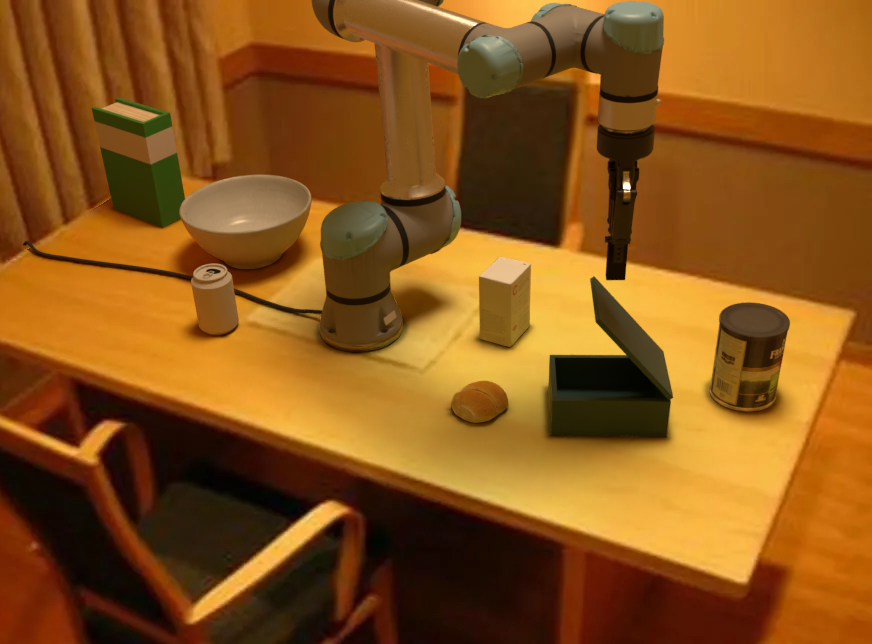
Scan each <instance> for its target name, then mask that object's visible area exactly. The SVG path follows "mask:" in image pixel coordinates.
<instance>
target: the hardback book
mask: <svg viewBox="0 0 872 644" xmlns="http://www.w3.org/2000/svg"><path fill="white" fill-rule="evenodd" d="M114 101H115V102H113V103H112V104H109V105H107V106H105V107H102V108H101V107H99V106H98V107H97V106H93V107H91V112H92V116H93V122H94V126H95V131H96V136H97V140H98V144H99V149H100V154H101V159H102V162H103V163H102V164H103V168H104V170H105V171H104V172H105V178H106V181H107V186H108V190H109V195H110V200H111V204H112V209H113V210H116V211H118V212H122V213H124V214H126V215H129V216H131V217H135V218H137V219H139V220H142V221H144V222H147V223H149V224H152V225H155V226H156V227H160V228H161V229H164V228H166V227H167V226H169V225H172V224H174V223H175V222H178V221H180V220H181V217H180V213H179V210H180V206H181V204H182V202H183V201H184V200H185V198H186V197H185V189H184V184H183V179H182V174H181V168H180V161H179V156H178V151H177V150H178V149H177V145H176V140H175V138H176V137H175V134H174V127H173V122H172V116H171V112H169V111H165V110H162V109H159V108H156V107H152V106H149V105H145V104H142V103H139V102H136V101H132V100H128V99H126V98H122V97H119V96H118V97H115V98H114Z"/></svg>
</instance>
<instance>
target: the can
mask: <svg viewBox="0 0 872 644" xmlns="http://www.w3.org/2000/svg"><path fill="white" fill-rule="evenodd" d="M192 276H193V278H192V279H190V284H191V290H192V296H193V301H194V302H193V303H194V307H195V312H196V318H197V323H198V327H199V329H200V330H201V331H203V332H204V333H206V334H207V335H210V336H221V335H226V334H228V333H230V332H232V331H234V329H235V328H236V327H237V325H238V324H239V320H240V318H239V313H238V306H237V300H236V293H235V292H234V288H235V285H234V280H233V275H232V274H231V272H229V271H228V268H227V266H225V265H224V264H222V263H221V264H220V263H205V264H203V265H200V266H198V267H197V268H195V269H194V271H193V273H192Z"/></svg>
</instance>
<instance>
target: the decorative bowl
mask: <svg viewBox="0 0 872 644" xmlns="http://www.w3.org/2000/svg"><path fill="white" fill-rule="evenodd" d="M312 200H313V199H312V193H311V192H310V189H309V188H308V187H307V186H306V185H305V184H303V183H301V182H299V181H298V180H297V179H296V180H295V179H293V178H290V177H286V176H281V175H274V174H248V175H246V174H245V175H238V176H232V177H227V178H224V179H220V180H215V181H214V182H210V183H208V184H206V185H205V184H204V185H203V186H201V187H199V188H198V189H195V190H193V192H191V193H189V195H187V196H186V197H185V200H184V201H183V202H182V204H181V206H180V210H179V213H180V217H181V219H180V220H181V222H182V224H183V226H184V228H185V229H186V231H187V232H188V234H189V236H190V237H191V238H192V239H193V241H195V243H196V244H197V245H198V246H199V247H200V248H201V249H203V250H204V251H205V252H206V253H208V254H209V255H211V256H213V257H214V258H217V259H218V260H220V261H224V263H225V264H226V265H228V266H230V267H232V268H235V269H240V270H253V269H260V268H264V267H268V266H269V265H272V264H274V263H276V262H277V261H278V260H279V259H280V258H281V257H282V255H283V253H285V252H286V251H288V249H290V248H291V247H292V246H293V245H294V244H295V242H296V241H297V240H298V239H299V237H300V236H301V234H302V232H303V231H304V229H305V226H306V225H307V222H308V219H309V216H310V212H311V207H312V202H313V201H312Z"/></svg>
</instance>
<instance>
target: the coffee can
mask: <svg viewBox="0 0 872 644" xmlns="http://www.w3.org/2000/svg"><path fill="white" fill-rule="evenodd" d="M718 323H719V325H718V329H717V338H716V344H715V351H714V358H713V359H714V360H713V364H712V374H711V380H710V385H709V394H710V397H711V398H712V399H713V400H714V401H715V402H717V404H719V405H720V406H723V407H724V408H727V409H731V410H733V411H739V412H758V411H763V410H765V409H767V408H770V407H771V406H772V405H773V404H774V403H775V402H776V398H777V389H778V385H779V381H780V375H781V369H782V364H783V358H784V352H785V348H786V342H787V336H788V331H789V330H790V326H791V320H790V317H788V315H787V314H786V313H785V312H783V311H782V310H781V309H779V308H777V307H775V306H772V305H769V304H765V303H762V302H761V303H760V302H737V303H733V304H730V305H728V306H726V307H724V308H723V309H722V310H721V311H720V312H719V315H718Z"/></svg>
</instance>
